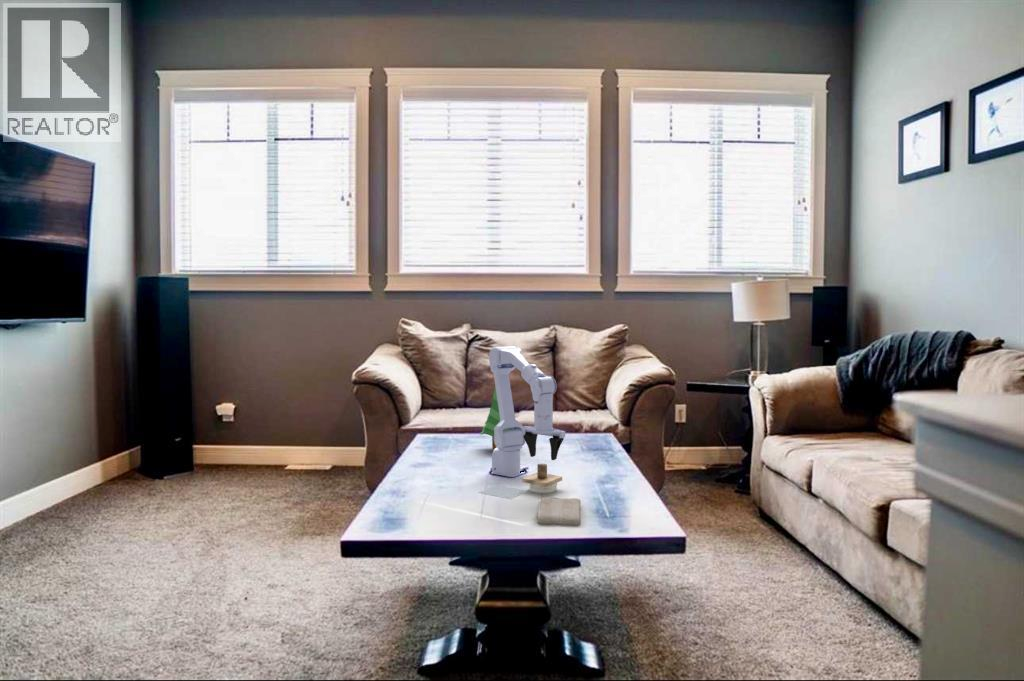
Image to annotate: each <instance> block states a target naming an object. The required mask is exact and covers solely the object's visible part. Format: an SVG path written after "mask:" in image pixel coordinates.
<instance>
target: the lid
mask: <svg viewBox="0 0 1024 681" xmlns="http://www.w3.org/2000/svg"><path fill="white" fill-rule="evenodd" d="M536 465H537V469H536V470H537V472H534V473H532V474H530V475H527V476H524V477H522V479H521V481H522V483H525V484H529V485H530V484H534V485H538V486H543V487H547V486H550V485H552V484H555V483H557V484H558V483H559V482H561V481H563V476H562V475H561V476H560V475H555V474H551V473H548V464H546V463H538V464H536Z"/></svg>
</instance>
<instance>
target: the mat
mask: <svg viewBox="0 0 1024 681" xmlns="http://www.w3.org/2000/svg"><path fill="white" fill-rule="evenodd" d="M528 491H529V490H527V489H522V488H517V487H511V486H505V485H502V484H501V485H500V484H494V485H492V486H490V487H488V488H485V489H483V490H481V491H478V494H482V495H488V496H492V497H499V498H503V499H508V500H512V499H514V498H517V497H519V496H521V495H522V494H525V493H527V492H528Z"/></svg>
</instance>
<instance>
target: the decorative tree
mask: <svg viewBox="0 0 1024 681" xmlns="http://www.w3.org/2000/svg"><path fill="white" fill-rule="evenodd" d="M492 396H493V397H492V399H491V400H492V401H491V406H490V409H489V412H488V415H487V417H486V418H487V419H486V420H485V423H484V426H483V428H482V430H481V432H480V433H479V435H484V434H485V435H487V436H491V437H492V438H491V446H492V447H491V449H492V451H494V449H495V448H497V447H496V445H495V443H494V428H495V427H496V425H497V424H498V423H499V422H500V414H499V407H498V400H497V393H496V386H495V387H494V390H493V395H492ZM511 429H513V428H509V429H503V430H511Z"/></svg>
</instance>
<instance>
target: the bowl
mask: <svg viewBox="0 0 1024 681" xmlns="http://www.w3.org/2000/svg"><path fill="white" fill-rule="evenodd" d="M557 486H558V482H557V483H555V484H552V485H550V486H547V487H543V486H538V485H534V484H529V491H531V492H532V493H537V494H550V493H554V492H556V491H557V488H558V487H557Z"/></svg>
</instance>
